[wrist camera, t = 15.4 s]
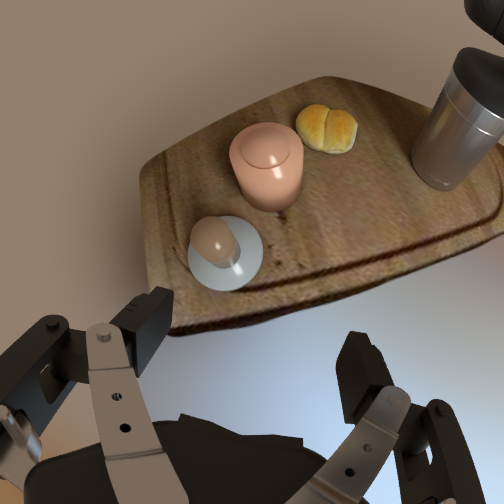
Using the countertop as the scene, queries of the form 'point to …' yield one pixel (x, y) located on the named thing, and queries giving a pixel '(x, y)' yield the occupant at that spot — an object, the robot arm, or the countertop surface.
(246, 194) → the canister
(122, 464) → the robot arm
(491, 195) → the countertop surface
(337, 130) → the bread roll
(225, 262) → the lid
